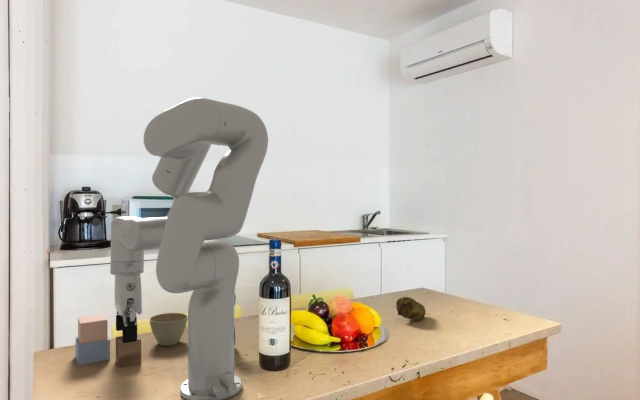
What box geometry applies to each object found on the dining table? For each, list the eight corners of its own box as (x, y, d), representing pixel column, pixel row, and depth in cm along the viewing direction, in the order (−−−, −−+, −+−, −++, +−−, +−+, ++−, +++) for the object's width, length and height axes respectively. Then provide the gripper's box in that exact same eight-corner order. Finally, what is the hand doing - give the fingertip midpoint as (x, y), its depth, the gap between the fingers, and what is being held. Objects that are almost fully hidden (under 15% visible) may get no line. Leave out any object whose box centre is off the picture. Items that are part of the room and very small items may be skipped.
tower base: (110, 359, 112) (109, 339, 112) (78, 365, 108) (78, 344, 108) (105, 351, 118) (105, 332, 118) (75, 356, 114) (75, 337, 114)
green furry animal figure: (435, 320, 146) (435, 296, 146) (405, 326, 140) (405, 300, 140) (418, 314, 154) (418, 291, 154) (388, 319, 147) (388, 295, 147)
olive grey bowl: (176, 350, 118) (176, 323, 118) (142, 347, 120) (141, 321, 120) (194, 338, 128) (194, 313, 128) (162, 336, 130) (162, 311, 130)
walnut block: (141, 363, 109) (141, 339, 109) (119, 367, 107) (119, 342, 107) (137, 357, 114) (137, 333, 113) (115, 361, 111) (115, 337, 111)
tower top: (107, 339, 112) (107, 319, 112) (80, 343, 109) (80, 323, 109) (104, 333, 117) (103, 314, 117) (78, 337, 114) (77, 317, 114)
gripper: (151, 272, 105) (149, 344, 105) (136, 260, 119) (135, 323, 120) (116, 274, 101) (115, 349, 101) (105, 262, 115) (104, 327, 116)
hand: (126, 335), depth 110 cm, fingers open, 9 cm apart
